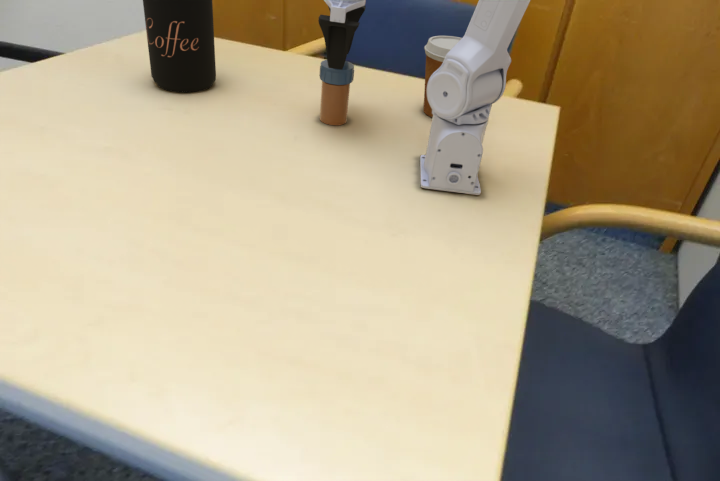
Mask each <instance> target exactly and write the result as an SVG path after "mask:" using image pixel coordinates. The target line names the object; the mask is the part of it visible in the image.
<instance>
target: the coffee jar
mask: <svg viewBox="0 0 720 481" xmlns="http://www.w3.org/2000/svg"><path fill="white" fill-rule="evenodd" d="M142 4H143V14H144V23H145V31H146V41H147V48H148V57H149V67H150V75H151V78H152V80H153V81H154V83H155V84H156V86H157V87H158V88H161V89H162V90H165V91H168V92H172V93H173V92H174V93H188V94H189V93H197V92H202V91H206V90H208V89H210V88H211V87H212V86H213V84H214V82H215V81H216V78H217V72H216V71H217V69H216V68H217V67H216V51H215V50H216V49H215V48H216V47H215V46H216V45H215V29H214V26H215V25H214V8H213V6H214V4H213V0H142Z"/></svg>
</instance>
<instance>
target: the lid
mask: <svg viewBox="0 0 720 481" xmlns="http://www.w3.org/2000/svg"><path fill="white" fill-rule="evenodd" d="M354 77H355V65H354V64H353V63H352V62H350V61H348V60H345V64H344V66H343V69H342V70H340V69H333V68H329V67H328V62H327V59H323V60H322V61H321V62H320V65H319V80H320V81H321V82H322V81H323V82H326V83H329V84H334V85H346V84H350V85H351V84H352V83H353V81H354Z"/></svg>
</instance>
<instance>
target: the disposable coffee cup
mask: <svg viewBox="0 0 720 481" xmlns="http://www.w3.org/2000/svg"><path fill="white" fill-rule="evenodd" d="M462 38H463V37H459V36H454V35H435V36H431V37H429V38H428V40H427V42H426V44H425V45H424V47H423V50H424V52H425V53H424V54H425V71H424V72H425V74H424V92H423V93H424V95H423V112H424V114H425V115H427V116H428V117H430V118H433V114H432V108H431V107H430V105H429V102H428V99H427V84H428V81H429V78H430V77H431V75H432V74H433V73H434V72H435V71H436V70H437V69H439V67H440V66H441V65H442V63H443V61H444V59H445V56H446V54H447V53H448V52H449V51H450V50H451V49H452V48H453V47H454V46H455V45H456V44H457V43H458V42H459V41H460V40H461V39H462Z"/></svg>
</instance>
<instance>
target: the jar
mask: <svg viewBox="0 0 720 481" xmlns="http://www.w3.org/2000/svg"><path fill="white" fill-rule="evenodd" d="M320 88H321V89H320V90H321V92H320V106H319V108H320V109H319V121H320V122H321V123H322V124H326V125H329V126H341V125H345V124H347V122H348V121H347V120H348V111H349V101H350V92H351V91H350V90H351V83H350V84H346V85H334V84H329V83H326V82H323V81H322V80H321V87H320Z"/></svg>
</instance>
